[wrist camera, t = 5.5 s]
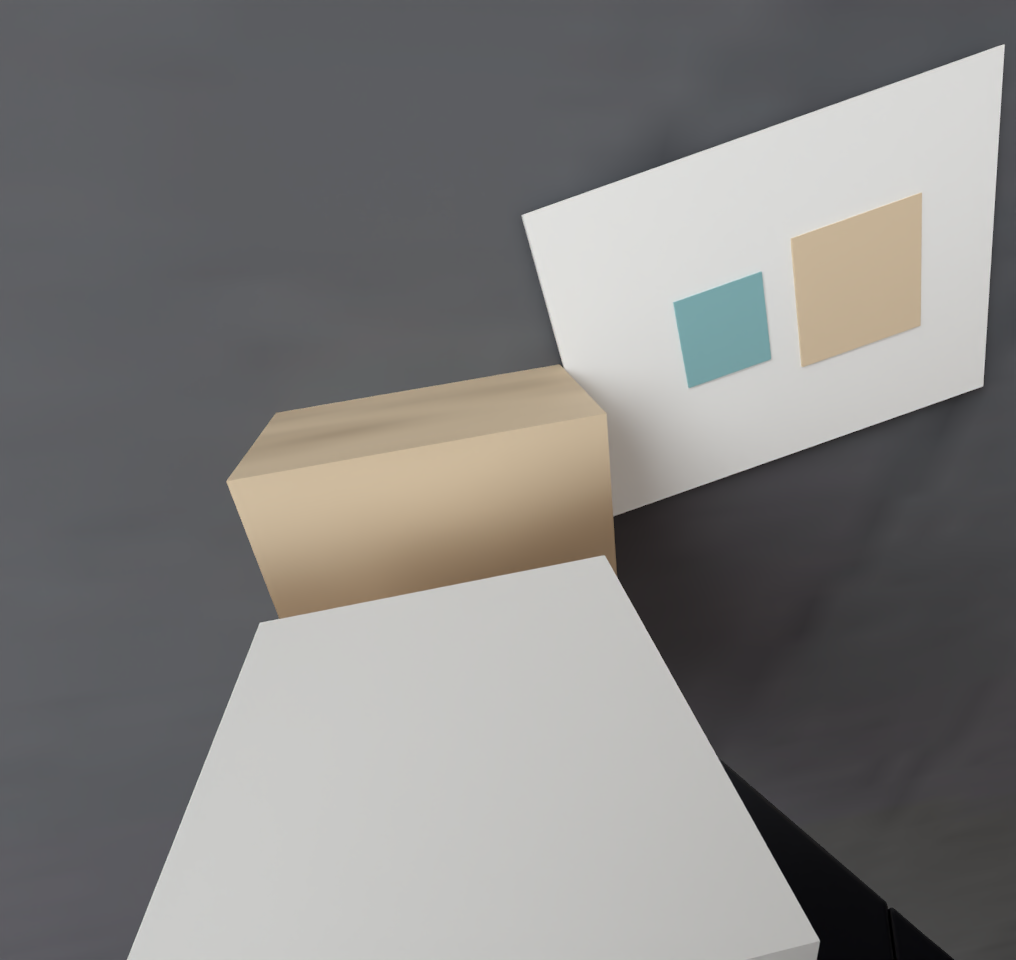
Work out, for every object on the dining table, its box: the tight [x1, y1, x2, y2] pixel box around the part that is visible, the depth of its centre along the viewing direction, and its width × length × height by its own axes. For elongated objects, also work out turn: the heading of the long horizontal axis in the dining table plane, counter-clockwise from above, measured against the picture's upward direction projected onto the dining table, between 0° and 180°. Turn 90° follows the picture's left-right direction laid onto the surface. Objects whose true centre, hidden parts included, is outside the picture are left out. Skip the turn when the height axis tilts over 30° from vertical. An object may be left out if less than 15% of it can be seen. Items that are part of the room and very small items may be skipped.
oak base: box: [226, 364, 617, 619], centre depth 14 cm, size 7×7×4 cm
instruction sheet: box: [521, 44, 1005, 516], centre depth 14 cm, size 8×11×1 cm
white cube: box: [127, 555, 820, 960], centre depth 7 cm, size 5×5×5 cm
